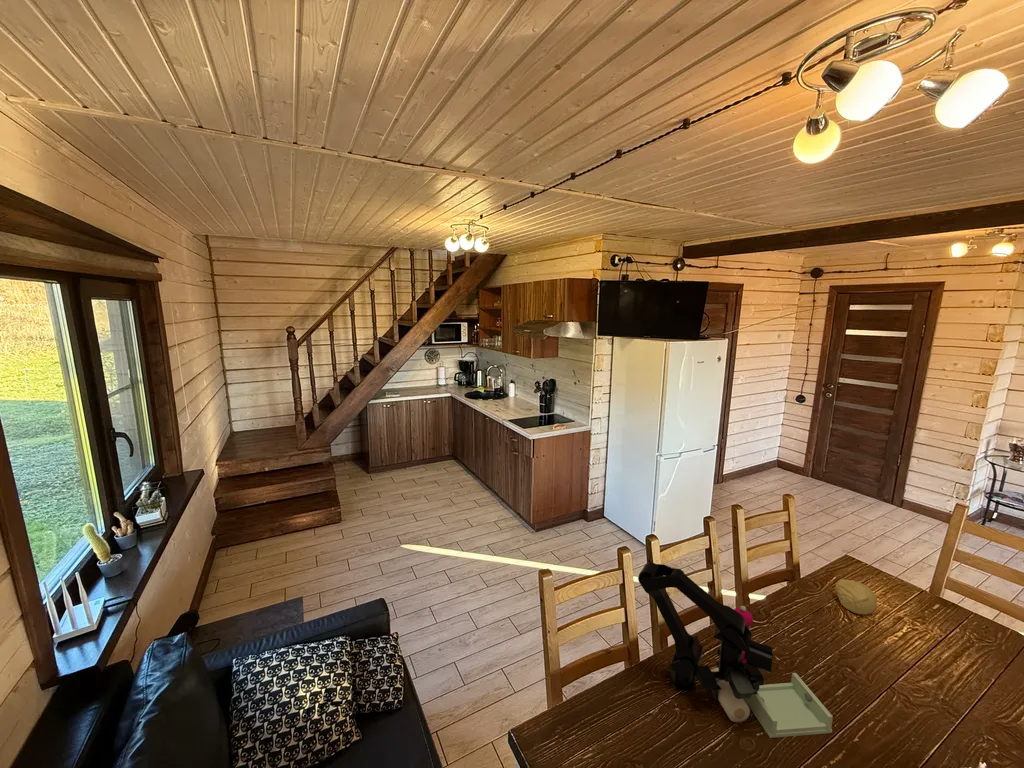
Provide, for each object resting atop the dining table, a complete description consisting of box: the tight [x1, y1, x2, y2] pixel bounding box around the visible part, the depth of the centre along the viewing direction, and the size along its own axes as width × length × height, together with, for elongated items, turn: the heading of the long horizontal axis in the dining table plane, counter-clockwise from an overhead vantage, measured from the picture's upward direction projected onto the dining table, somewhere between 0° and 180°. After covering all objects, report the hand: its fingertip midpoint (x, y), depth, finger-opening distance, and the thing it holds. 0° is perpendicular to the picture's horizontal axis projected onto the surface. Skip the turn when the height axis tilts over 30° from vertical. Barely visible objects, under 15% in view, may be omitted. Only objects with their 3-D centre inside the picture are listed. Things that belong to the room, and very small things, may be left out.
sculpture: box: [834, 578, 878, 615], centre depth 162 cm, size 12×12×11 cm
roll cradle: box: [743, 672, 834, 739], centre depth 122 cm, size 18×14×6 cm
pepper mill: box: [733, 605, 754, 663], centre depth 139 cm, size 7×7×20 cm
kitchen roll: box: [710, 667, 751, 723], centre depth 125 cm, size 13×6×6 cm, turn 4°
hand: (726, 698), depth 125 cm, fingers open, 6 cm apart
